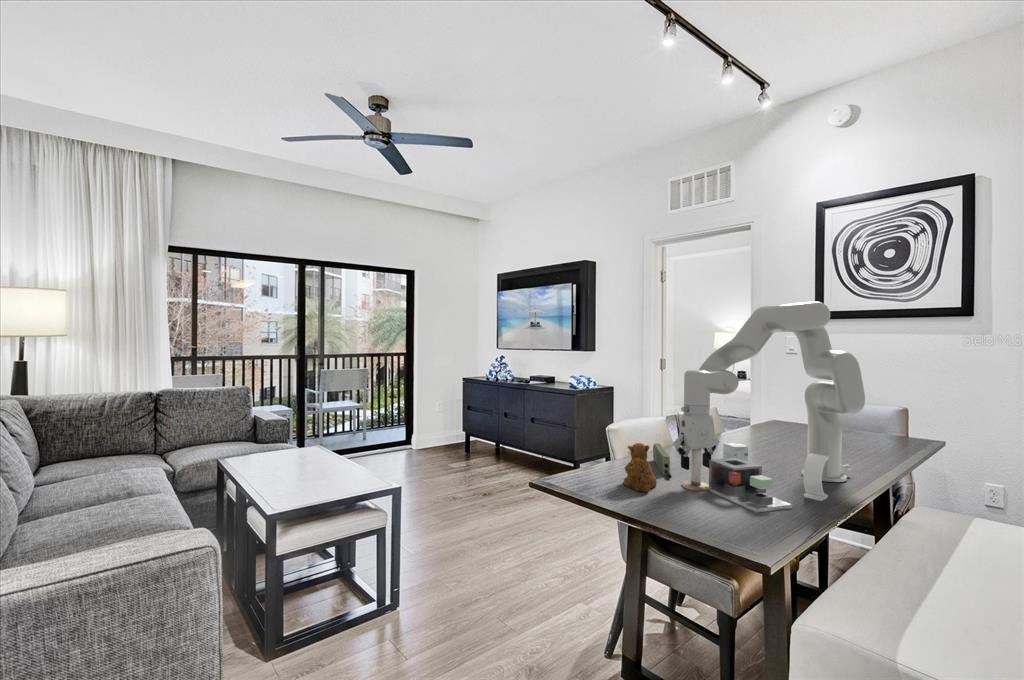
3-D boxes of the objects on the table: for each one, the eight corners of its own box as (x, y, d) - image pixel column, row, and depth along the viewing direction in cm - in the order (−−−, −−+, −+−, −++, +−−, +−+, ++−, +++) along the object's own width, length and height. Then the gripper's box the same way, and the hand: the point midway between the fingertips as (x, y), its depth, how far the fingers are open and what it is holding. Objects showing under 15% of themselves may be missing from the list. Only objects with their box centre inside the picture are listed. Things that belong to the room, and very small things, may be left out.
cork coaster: (698, 481, 155) (698, 480, 155) (715, 489, 148) (715, 487, 148) (676, 484, 153) (676, 482, 153) (693, 491, 145) (693, 489, 145)
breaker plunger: (735, 485, 146) (735, 470, 146) (743, 488, 143) (743, 473, 143) (725, 486, 145) (726, 471, 145) (734, 489, 142) (734, 474, 142)
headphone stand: (827, 497, 141) (828, 456, 141) (820, 502, 138) (821, 459, 137) (810, 493, 145) (810, 453, 145) (802, 497, 141) (803, 456, 141)
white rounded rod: (702, 485, 150) (703, 446, 150) (694, 486, 149) (695, 447, 149) (696, 483, 152) (697, 444, 152) (689, 483, 151) (689, 445, 151)
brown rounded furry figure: (656, 482, 155) (656, 441, 154) (658, 496, 141) (658, 451, 141) (624, 480, 157) (624, 439, 157) (622, 493, 143) (623, 449, 143)
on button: (761, 489, 137) (761, 475, 137) (772, 493, 133) (773, 479, 133) (749, 490, 136) (750, 476, 136) (761, 495, 132) (761, 480, 132)
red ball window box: (737, 486, 151) (737, 456, 151) (791, 508, 132) (792, 474, 132) (705, 489, 148) (705, 459, 148) (756, 512, 129) (756, 478, 129)
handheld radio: (662, 460, 182) (675, 480, 157) (653, 460, 183) (664, 480, 158) (661, 443, 182) (674, 460, 157) (652, 443, 183) (664, 459, 158)
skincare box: (733, 467, 173) (733, 446, 173) (722, 463, 179) (722, 443, 179) (748, 466, 175) (748, 446, 174) (736, 462, 180) (737, 442, 180)
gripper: (680, 413, 144) (679, 473, 144) (728, 411, 149) (728, 468, 149) (665, 409, 151) (664, 466, 151) (711, 407, 156) (711, 462, 157)
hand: (696, 467), depth 150 cm, fingers open, 7 cm apart
